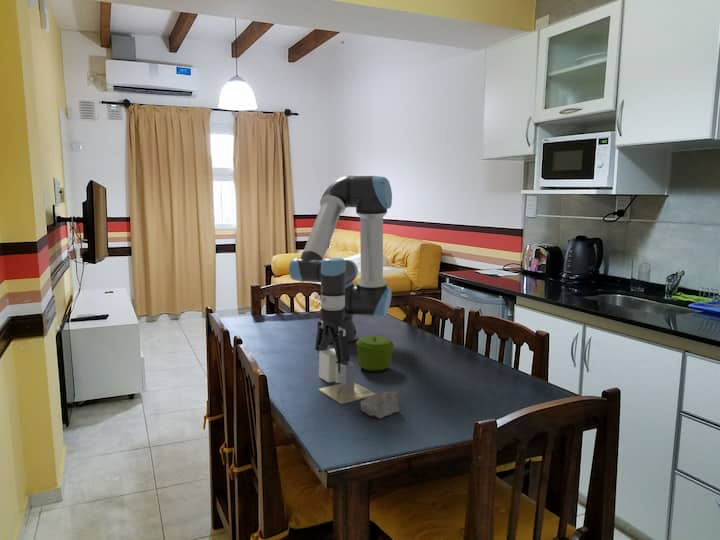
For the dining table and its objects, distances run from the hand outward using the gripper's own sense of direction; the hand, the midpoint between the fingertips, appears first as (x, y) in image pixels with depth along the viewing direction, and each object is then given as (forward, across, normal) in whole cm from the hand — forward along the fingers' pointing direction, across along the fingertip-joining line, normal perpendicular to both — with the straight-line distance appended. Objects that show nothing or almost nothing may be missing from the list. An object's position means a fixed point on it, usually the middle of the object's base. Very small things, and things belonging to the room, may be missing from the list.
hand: (331, 377), depth 168 cm
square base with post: (0, +13, -3) cm, 13 cm away
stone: (+1, +30, -4) cm, 30 cm away
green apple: (0, 0, +17) cm, 17 cm away
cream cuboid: (0, 0, 0) cm, 0 cm away
